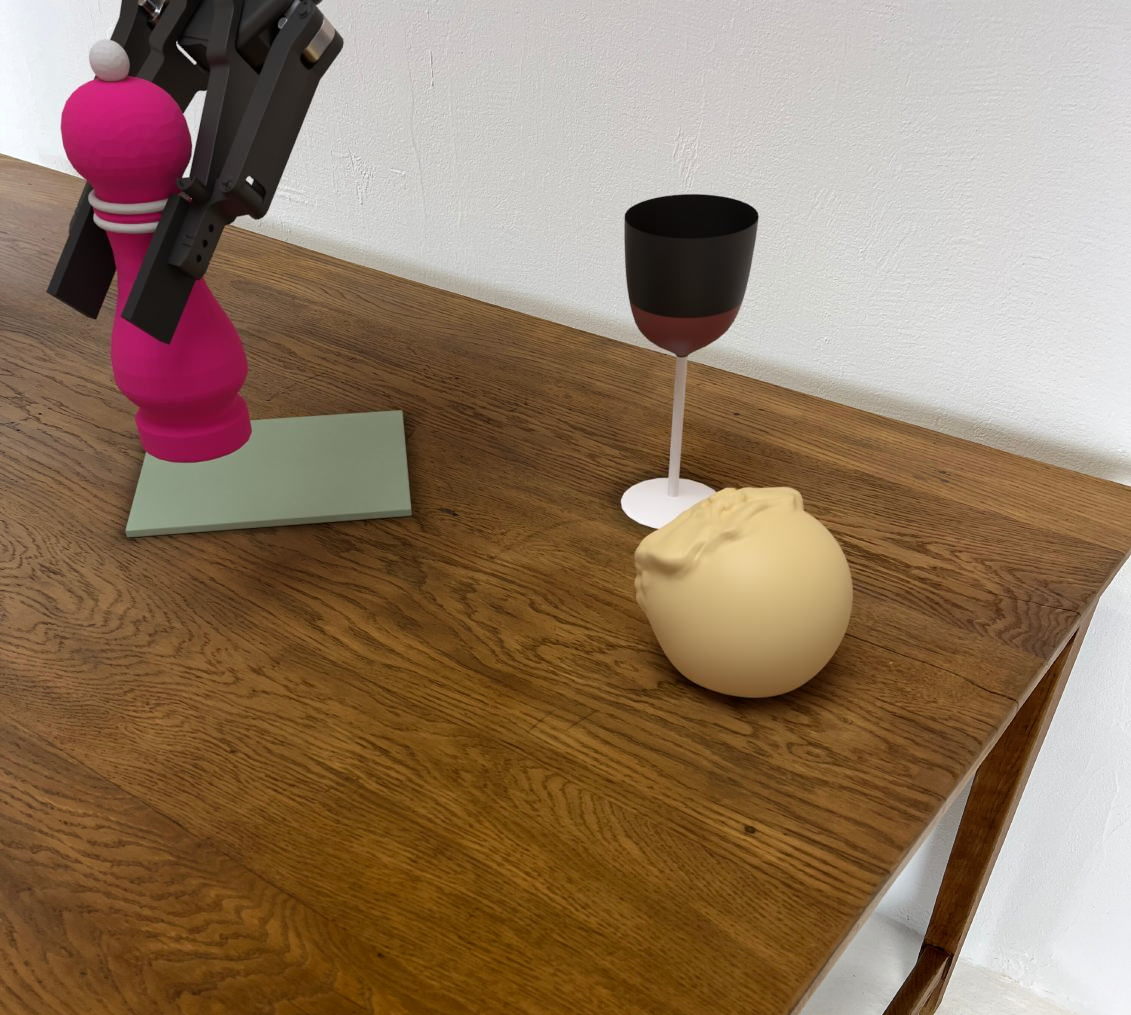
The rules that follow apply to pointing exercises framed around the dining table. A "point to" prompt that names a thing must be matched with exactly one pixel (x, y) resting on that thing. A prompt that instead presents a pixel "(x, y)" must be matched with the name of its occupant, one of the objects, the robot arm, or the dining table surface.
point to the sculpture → (745, 591)
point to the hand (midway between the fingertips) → (108, 317)
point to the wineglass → (683, 308)
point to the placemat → (282, 478)
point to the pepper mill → (130, 216)
